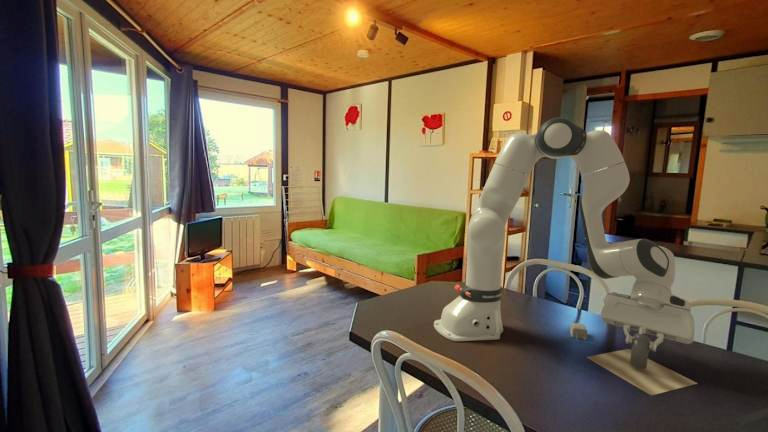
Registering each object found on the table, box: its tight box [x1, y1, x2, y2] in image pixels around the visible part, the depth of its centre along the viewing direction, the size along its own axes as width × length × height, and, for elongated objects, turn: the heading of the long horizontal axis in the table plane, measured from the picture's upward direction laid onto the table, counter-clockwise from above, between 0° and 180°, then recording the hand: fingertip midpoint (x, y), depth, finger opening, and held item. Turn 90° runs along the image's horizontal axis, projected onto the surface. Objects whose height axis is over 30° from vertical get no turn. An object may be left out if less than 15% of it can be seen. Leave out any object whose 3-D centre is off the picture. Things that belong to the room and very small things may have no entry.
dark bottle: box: [630, 327, 651, 369], centre depth 96 cm, size 4×4×10 cm
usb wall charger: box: [569, 322, 588, 341], centre depth 115 cm, size 4×7×4 cm, turn 161°
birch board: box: [586, 348, 699, 396], centre depth 97 cm, size 16×18×1 cm
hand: (640, 346), depth 96 cm, fingers closed on dark bottle, 4 cm apart
